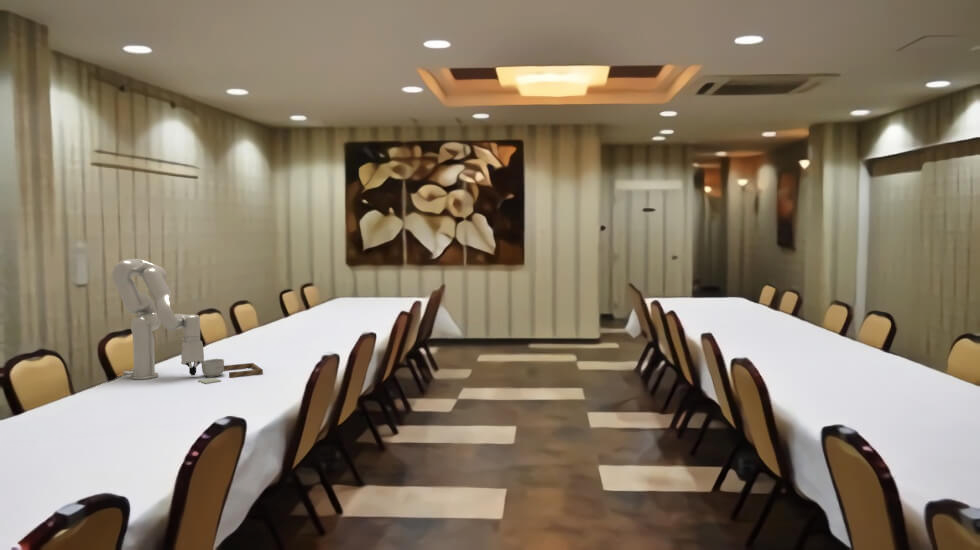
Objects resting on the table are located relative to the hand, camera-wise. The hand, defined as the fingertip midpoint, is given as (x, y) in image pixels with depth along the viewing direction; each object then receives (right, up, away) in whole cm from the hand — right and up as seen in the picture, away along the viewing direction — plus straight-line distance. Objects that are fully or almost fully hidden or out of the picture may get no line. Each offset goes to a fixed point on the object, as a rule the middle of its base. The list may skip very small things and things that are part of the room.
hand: (192, 374), depth 358 cm
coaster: (+12, -3, -9) cm, 15 cm away
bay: (+20, -1, +13) cm, 23 cm away
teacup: (+9, -1, +6) cm, 10 cm away
